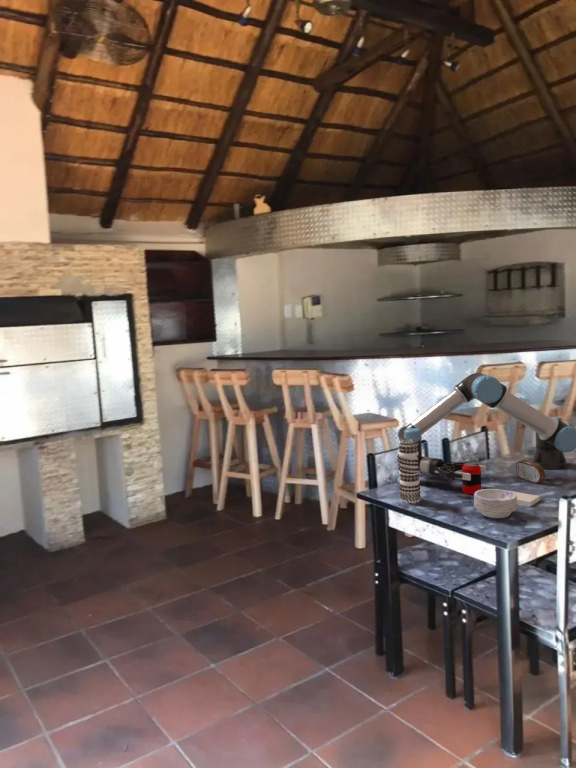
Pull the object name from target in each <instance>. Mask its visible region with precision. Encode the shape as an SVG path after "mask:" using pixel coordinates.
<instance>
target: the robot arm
mask: <svg viewBox="0 0 576 768" xmlns="http://www.w3.org/2000/svg"><path fill="white" fill-rule="evenodd" d="M472 400H478V401H479V402H481V403H482V404H484V405H486V406H487V407H488V408H490V409H496V408H497V409H499V410H500V411H502V412H503V413H505V414H507V415H508V416H510V417H511V418H513V419H514V420H516V421H517V422H519V423H521V424H522V425H524V426H525V427H527V428H529V429H530V430H532V431H534V432H535V450H534V453H533V456H532V459H531V462H533V463H537V464H539V465H540V466H541V467H542V468H543V469H544V470H558V469H559V470H561V469H564V468H567V466H568V465H567V463H568V462H567V458H566V456H565V453H570V452H573V451H574V450H576V428H575V427H574V426H571V425H568V424H567V423H565V422H564V420H563V417H560V416H547V415H546V414H544V413H543V412H542V411H540V410H538V409H537V408H534V407H533V406H531V404H528V403H527V402H525V401H523V400H522V399H521V398H519V397H518V396H516V395H515V394H513V393H511V392H509V390H508V388H507V386H506V385H505V384H503V383H501V382H500V381H499V379H497V378H496V377H495V376H493V375H489V374H488V375H487V374H484V373H481V372H473V373H471V374H469V375H468V376H466V377H465V378H464V379H462V380H461V381H460V382H458V383H457V384H456V385H455V386H454V387H453V390H452V391H451V392H449V393H448V394H447V395H445V396H444V397H443V398H441V399H440V400H439V401H438V402H436V403H435V404H434V405H432V406H430V408H428V409H427V410H425V412H423V413H422V414H420V415H419V416H418V417H416V419H414V420H413V421H412V422H410V423H409V424H408V425H404V426H401V427H399V429H398V431H397V438H398V440H399V441H400V442H401V441H402V440H406V439H412V440H415V441H416V443H418V454H420V457H418V459H420V461H419V463H420V465H419V466H418V467H419V468H420V470H419V471H420V473H419V474H423V475H426V476H430V475H431V476H435V477H442V478H445V479H447V480H452V481H455V480H456V479H458V480H462V479H463V480H469V481H470V480H471V474H469V473H462V467H463V466H464V464H465V463H466V462H463V461H462V462H460V461H459V462H457V461H455V462H454V461H449V462H446V463H445V462H444V460H443V459H442V458H437V457H431V456H423V451H422V450H423V449H422V448H423V447H422V438H423V437H422V435H424V434H425V433H426V432H427V431H429V430H430V429H432V428H433V427H435V426H436V425H437V424H438V423H440V422H441V421H443V420H444V419H445V418H446V417H447V416H449V415H450V414H452V413H453V412H454V411H455V410H457V409H458V408H460V407H461V406H462V405H463V404H468V403H470V402H471V401H472ZM470 463H473V461H470ZM478 465H479V464H478ZM479 466H480V467H481V473H483V474H485V473H487V466H485V465H479Z"/></svg>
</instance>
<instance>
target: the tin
mask: <svg viewBox="0 0 576 768" xmlns="http://www.w3.org/2000/svg"><path fill="white" fill-rule="evenodd" d="M515 471H516V474H517V476H518V477H519V478H520V479H522V480H524V481H527V482H530V483H533V484H539V483H540V484H541V483H543V482H544V481H545V479H546V473H545V469H543V468H542V467H541V466H540V465H539V464H537V463H533V462H532V461H530V460H526V459H523V460H520V461H518V462H517V463H516V465H515Z"/></svg>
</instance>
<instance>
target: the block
mask: <svg viewBox="0 0 576 768" xmlns="http://www.w3.org/2000/svg"><path fill="white" fill-rule="evenodd" d="M509 491H510V492H513V493H515V494H516V495H517V505H519V506H526V507H531V506H533V505H535V504H537V503H538V502H539V501H540V500H541V499H540V498H541V497H540V495H535V494H531V493H525V492H524V493H523V492H517V491H513V490H509Z"/></svg>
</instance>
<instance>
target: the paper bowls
mask: <svg viewBox="0 0 576 768" xmlns="http://www.w3.org/2000/svg"><path fill="white" fill-rule="evenodd" d="M510 491H511V490H506V489H499V488H485V489H483V488H481V490H478V491H476V492H475V493H474V495H473V505H474V508H475V509H477V510H479V512H480V514H481V515H482V516H483V517H487V518H490V519H506V518H508V517H510V515H511V514H512V513H513V512H515V511H517V510H518V504H517V495H516V494H515V493H513V492H514V491H513V492H510Z"/></svg>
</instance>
